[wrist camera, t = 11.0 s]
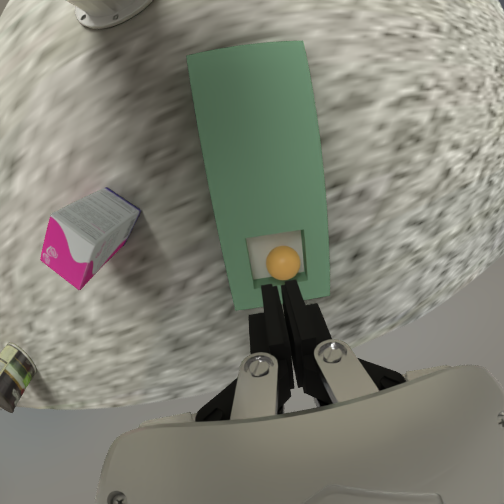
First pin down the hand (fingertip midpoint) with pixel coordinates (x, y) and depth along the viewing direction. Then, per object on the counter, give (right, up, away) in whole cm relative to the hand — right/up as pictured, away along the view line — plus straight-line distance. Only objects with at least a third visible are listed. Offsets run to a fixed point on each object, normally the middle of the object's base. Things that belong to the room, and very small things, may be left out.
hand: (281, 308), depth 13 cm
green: (0, +11, +17) cm, 20 cm away
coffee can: (-57, -23, +30) cm, 68 cm away
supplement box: (-18, +7, +18) cm, 27 cm away
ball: (+2, +1, +19) cm, 19 cm away
